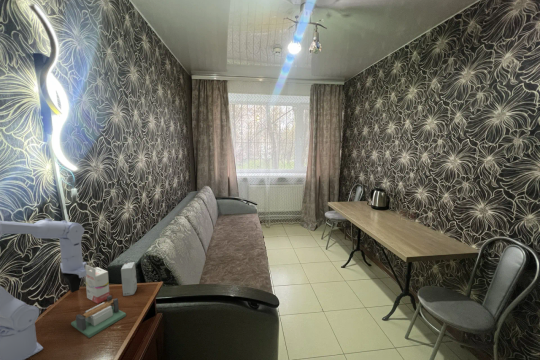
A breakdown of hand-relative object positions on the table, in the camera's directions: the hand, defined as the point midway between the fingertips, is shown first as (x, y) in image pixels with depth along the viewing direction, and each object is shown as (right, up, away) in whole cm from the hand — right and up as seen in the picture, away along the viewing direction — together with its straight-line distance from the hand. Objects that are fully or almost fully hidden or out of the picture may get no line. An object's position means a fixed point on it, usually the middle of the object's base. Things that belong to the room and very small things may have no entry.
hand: (74, 290), depth 85 cm
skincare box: (+10, -9, +17) cm, 22 cm away
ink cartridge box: (-1, -9, +13) cm, 16 cm away
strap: (+10, -6, 0) cm, 12 cm away
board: (+9, -11, 0) cm, 14 cm away
